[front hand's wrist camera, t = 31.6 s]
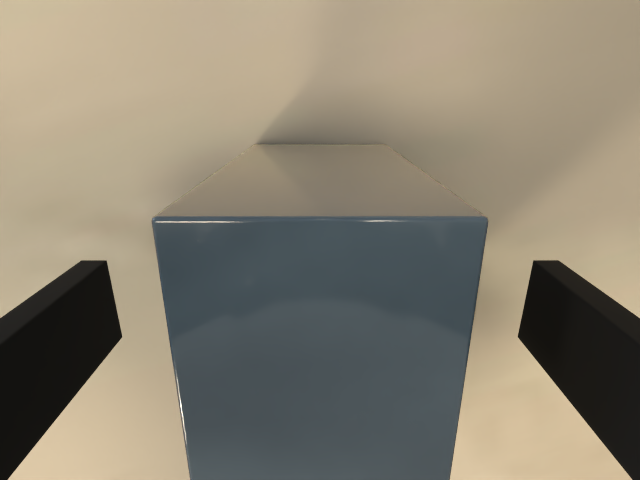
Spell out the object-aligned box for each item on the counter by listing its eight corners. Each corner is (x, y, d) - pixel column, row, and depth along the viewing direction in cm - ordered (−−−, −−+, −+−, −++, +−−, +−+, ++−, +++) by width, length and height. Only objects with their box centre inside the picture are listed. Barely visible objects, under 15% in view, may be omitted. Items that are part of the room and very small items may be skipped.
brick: (386, 143, 16) (490, 216, 6) (376, 333, 20) (435, 584, 9) (253, 143, 16) (148, 216, 6) (263, 333, 20) (204, 584, 9)
